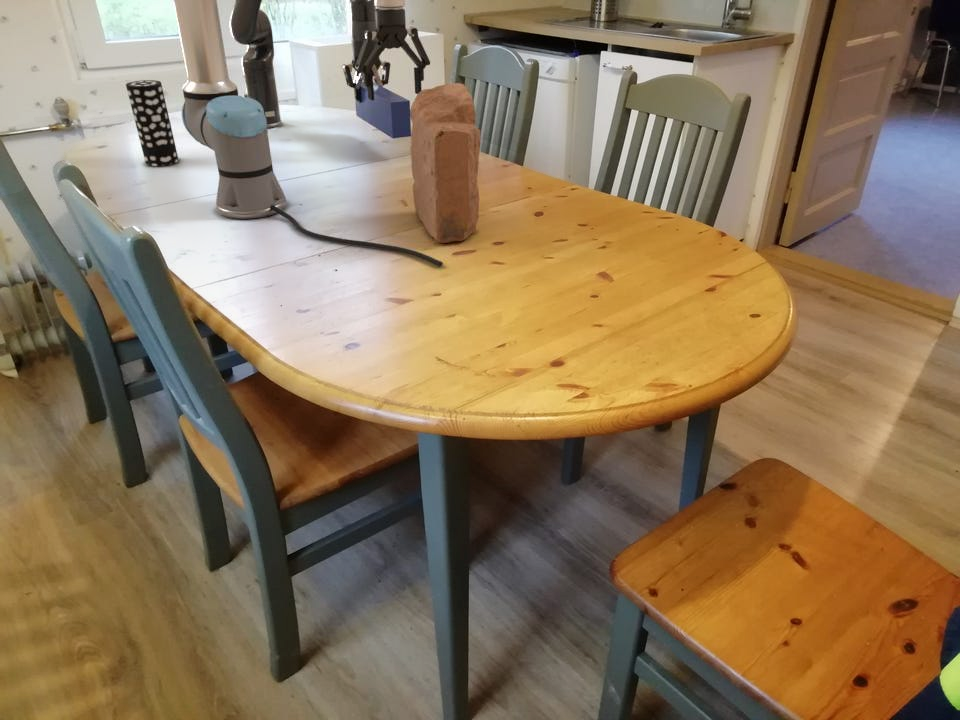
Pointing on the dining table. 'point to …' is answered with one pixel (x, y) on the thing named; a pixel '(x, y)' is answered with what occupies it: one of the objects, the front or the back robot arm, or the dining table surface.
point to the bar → (385, 111)
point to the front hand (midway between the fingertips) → (395, 96)
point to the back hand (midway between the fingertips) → (369, 100)
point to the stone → (445, 161)
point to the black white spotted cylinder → (152, 122)
